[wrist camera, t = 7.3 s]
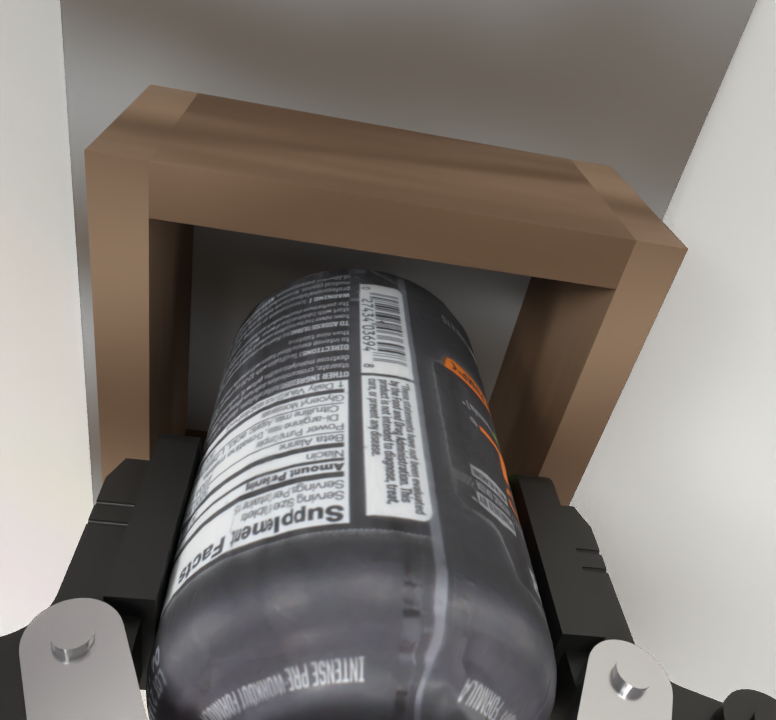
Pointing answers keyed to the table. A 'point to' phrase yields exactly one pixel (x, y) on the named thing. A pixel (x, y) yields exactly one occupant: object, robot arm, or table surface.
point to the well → (383, 189)
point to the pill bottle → (351, 526)
